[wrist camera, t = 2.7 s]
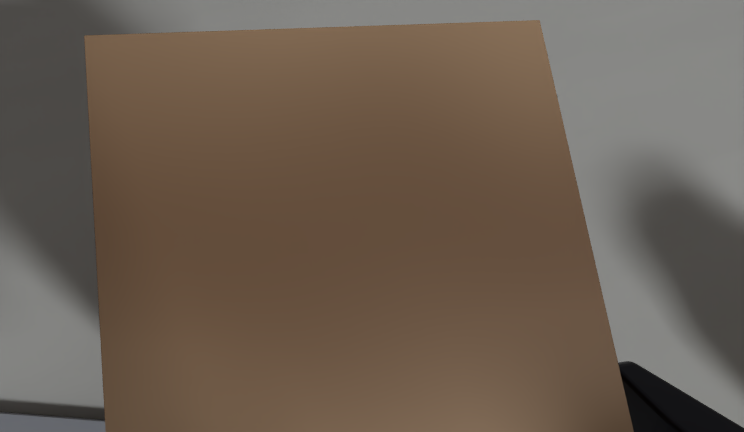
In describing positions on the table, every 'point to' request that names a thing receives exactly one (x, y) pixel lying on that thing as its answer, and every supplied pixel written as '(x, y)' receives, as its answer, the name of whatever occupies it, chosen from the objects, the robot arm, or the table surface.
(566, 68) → the table surface
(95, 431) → the mat
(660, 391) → the robot arm
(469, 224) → the walnut block
